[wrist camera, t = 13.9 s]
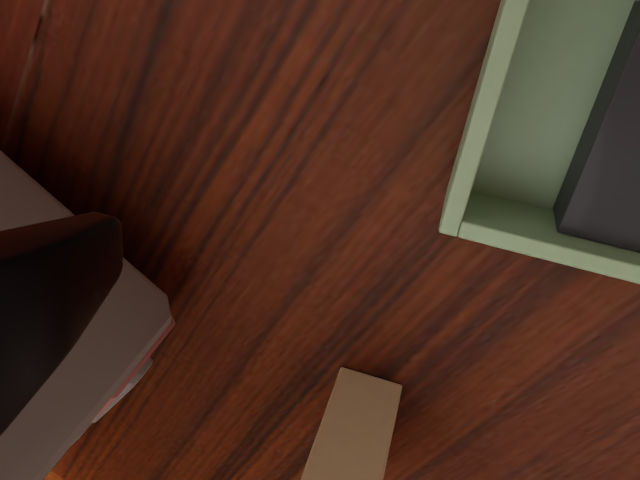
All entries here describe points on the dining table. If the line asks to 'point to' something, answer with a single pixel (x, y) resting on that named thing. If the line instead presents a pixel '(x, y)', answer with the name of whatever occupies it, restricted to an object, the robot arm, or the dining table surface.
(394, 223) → the dining table surface
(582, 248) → the case
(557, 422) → the dining table surface
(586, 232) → the dark grey flat block
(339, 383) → the stand
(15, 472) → the alarm clock
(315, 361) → the dining table surface
